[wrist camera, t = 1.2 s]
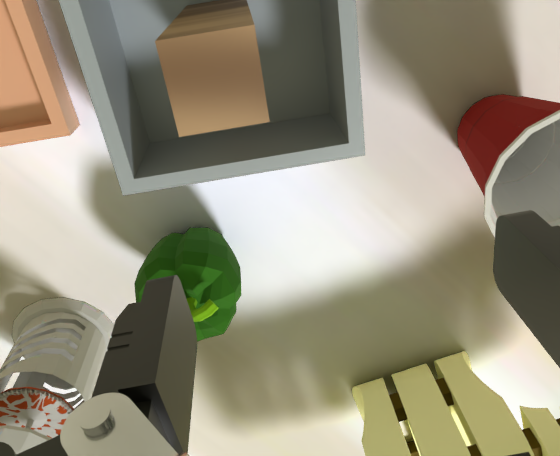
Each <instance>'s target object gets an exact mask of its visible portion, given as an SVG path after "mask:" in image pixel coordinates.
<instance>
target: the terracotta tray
mask: <svg viewBox="0 0 560 456" xmlns="http://www.w3.org/2000/svg"><path fill="white" fill-rule="evenodd" d="M79 125H80V124H79V121H78V118H77V115H76V112H75V110H74V107H73V104H72V101H71V98H70V95H69V92H68V90H67V87H66V84H65V81H64V78H63V75H62V72H61V70H60V67H59V64H58V61H57V58H56V55H55V52H54V50H53V47H52V44H51V41H50V38H49V35H48V32H47V30H46V27H45V24H44V21H43V18H42V15H41V12H40V10H39V7H38V4H37V1H36V0H0V147H2V146H8V145H14V144H20V143H26V142H32V141H38V140H44V139H50V138H57V137H63V136H69V135H71V134H72V133H73V132H74V131H75V130H76V129H77V127H78V126H79Z"/></svg>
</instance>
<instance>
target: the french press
mask: <svg viewBox="0 0 560 456" xmlns="http://www.w3.org/2000/svg"><path fill="white" fill-rule="evenodd" d="M113 328H114V324H113V323H112V322H111V321H110V320H109V319H108V317H107V316H106V315H105V314H104V313H103V312H102V311H100V310H98V309H96V308H95V307H93V306H91V305H89V304H87V303H86V302H82V301H78V300H73V299H68V298H63V297H62V298H52V299H42V300H39V301H37V302H35V303H33V304H31V305H29V306H27V307H25V308H24V309H23V310H22V311H21V312H20V314H19V315H18V316H17V317H16V319H15V320H14V323H13V330H12V338H13V341H14V343H15V344H14V346H13V347H12V349H11V351H10V353H9V355H8V356H7V358H6V360H5V362H4V364H3V365H2V367H1V369H0V442H4V443H6V444H9V445H10V446H11V447H12V448H13V450H14V451H15V453H16V454H19V453H21V452H23V451H25V450H28V449H30V448H32V447H34V446H36V445H39V444H41V443H43V442H45V441H48V440H50V439H52V438H54V437H56V436H58V435H59V434H61V429H62V426H63V424H64V422H65V421H66V419H67V418H68V416H69V415H70V414H71V413H72V412H73V411H74V410H75V409H76V408H77V407H78V406H80V405H81V404H82V403H84V402H85V401H87V400H89V399H91V396H92V394H93V391H94V388H95V384H96V381H97V378H98V374H99V372H100V369H101V366H102V363H103V359H104V356H105V353H106V351H107V347H108V344H109V340H110V338H112V336H111V334H112V331H113ZM22 356H23V357H24V358H25V359H24V360H21V361H19V360H20V358H21V357H22ZM16 372H20V374H19V376H18V378H17V380H16V382H15V384H14V386H13V388H10V389H8V390H6V391H4V389H5V387H6V385H7V383H8V381H9V379H10V377H11V376H12V374H13V373H16ZM44 382H45V383H47V384H49V385H50V386H52V387H55V388H60V389H64V390H67V389H71V388H76V389H77V391H75V392H71V393H67V394H60V393H56V392H51V391H49V390H48V389H46V388H45V387H43V384H44ZM3 391H4V392H3ZM79 393H80V394H81V396H79V397H78V398H77V399H76V400H75V401H72V402H69V403H68V402H67V401H66V400H65V399H68V398H72V397H75V396H77V395H78V394H79ZM82 398H83V399H84V400H83V401H82V402H81V403H80V404H79V405H78V406H77V407H76V408H75V409H74V408H73V407H72V406H74V405H75V404H76V403H78V402H79V401H80V400H81V399H82Z"/></svg>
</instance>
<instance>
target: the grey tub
mask: <svg viewBox="0 0 560 456" xmlns="http://www.w3.org/2000/svg"><path fill="white" fill-rule="evenodd" d="M211 1H217V0H59V3H60V6H61V9H62V12H63V15H64V18H65V21H66V24H67V27H68V30H69V33H70V36H71V39H72V42H73V45H74V48H75V51H76V54H77V57H78V60H79V63H80V66H81V69H82V72H83V75H84V78H85V81H86V84H87V87H88V91H89V94H90V97H91V100H92V103H93V106H94V109H95V112H96V115H97V118H98V121H99V124H100V127H101V130H102V133H103V136H104V139H105V142H106V145H107V148H108V151H109V154H110V157H111V160H112V163H113V166H114V169H115V172H116V175H117V178H118V181H119V184H120V187H121V191H122V194H123V196H124V195H130V194H136V193H142V192H148V191H154V190H160V189H166V188H172V187H178V186H184V185H190V184H196V183H202V182H208V181H214V180H220V179H226V178H232V177H238V176H244V175H250V174H256V173H262V172H268V171H274V170H280V169H286V168H292V167H298V166H304V165H310V164H316V163H322V162H328V161H334V160H340V159H346V158H352V157H358V156H364V155H365V143H364V127H363V111H362V95H361V79H360V63H359V48H358V32H357V16H356V0H247V3H248V6H249V9H250V12H251V15H252V19H253V22H254V25H255V31H256V38H257V44H258V50H259V57H260V63H261V69H262V76H263V82H264V89H265V95H266V101H267V108H268V114H269V120H270V122H267V123H261V124H255V125H249V126H243V127H237V128H231V129H225V130H219V131H213V132H207V133H201V134H195V135H188V136H182V137H179V135H178V131H177V127H176V123H175V119H174V115H173V111H172V107H171V103H170V99H169V95H168V91H167V87H166V83H165V79H164V75H163V71H162V67H161V63H160V59H159V55H158V51H157V48H156V44H155V40H156V39H157V38H158V37H159V36H160V35H161V34H162V33H163V31H164V30H165V29H166V28H167V27H168V26H169V25H170V24H171V23H172V21H173V20H174V19H175V18H176V17H177V16H178V15H179V14H180V13H181V12H182V10H183V9H184V8H185V7H186V6H187V5H193V4H199V3H205V2H211Z"/></svg>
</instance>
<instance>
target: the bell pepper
mask: <svg viewBox="0 0 560 456" xmlns="http://www.w3.org/2000/svg"><path fill="white" fill-rule="evenodd" d="M173 275H177V276H178V277H179V279H180V281H181V284H182V287H183V290H184V293H185V296H186V299H187V302H188V305H189V308H190V311H191V315H192V318H193V321H194V324H195V329H196V335H197V341H200V340H202V339H206V338H209V337H213V336H217V335H221V334H224V332H225V331H226V329H227V328H228V326H229V324H230V322H231V320H232V318H233V316H234V314H235V312H236V302H237V301H238V299H239V298H240V296H241V274H240V266H239V264H238V261H237V259H236V257H235V255H234V253H233V251H232V249H231V248H230V246H229V245H228V243H227V242H226V241H225V239H224V238H223V236H222V235H221V234H219V233H217V232H216V231H214V230H212V229H210V228H189V229H188V230H187V232H186V233H185V234H179V233H171V234H169V235H168V236H166V237H164V238H162V239H161V240H160V241H159V242H158V243H157V244H156V245H155V247H154V248H153V249H152V251H151V252H150V253H149V254H148V256H147V258H146V259H145V261H144V263H143V265H142V266H141V268H140V270H139V272H138V275H137V278H136V281H135V294H136V303H137V302H141V298H142V294H143V291H144V287H145V283H146V281H147V280H152V279H157V278H162V277H168V276H173Z"/></svg>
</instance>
